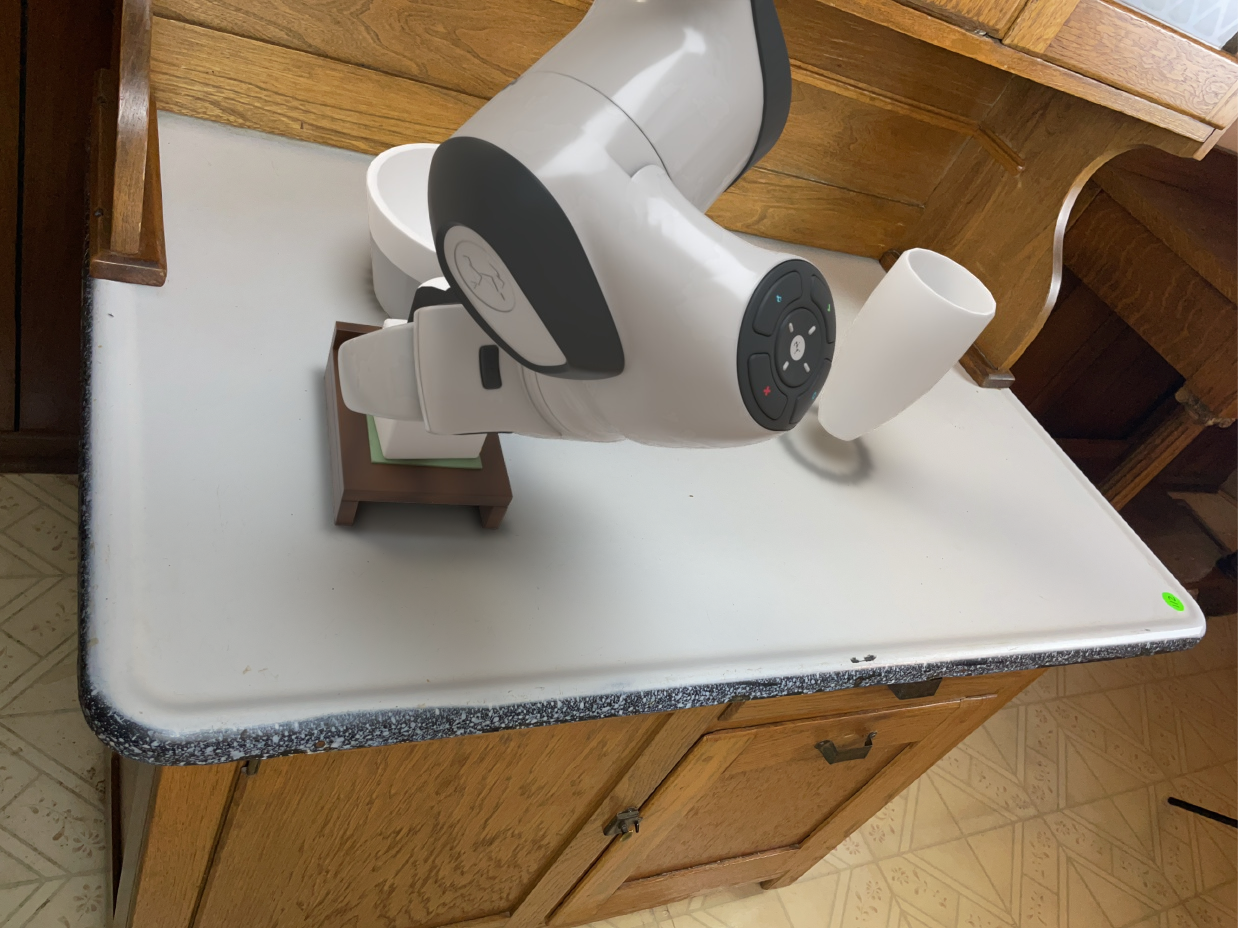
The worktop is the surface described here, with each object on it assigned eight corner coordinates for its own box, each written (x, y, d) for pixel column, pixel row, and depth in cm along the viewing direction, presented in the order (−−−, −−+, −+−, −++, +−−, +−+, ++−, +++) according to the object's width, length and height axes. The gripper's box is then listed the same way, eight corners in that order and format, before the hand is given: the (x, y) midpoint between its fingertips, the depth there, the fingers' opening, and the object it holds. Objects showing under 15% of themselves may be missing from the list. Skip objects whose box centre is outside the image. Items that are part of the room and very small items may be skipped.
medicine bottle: (479, 460, 63) (528, 338, 56) (382, 461, 60) (421, 331, 52) (456, 392, 67) (499, 270, 60) (365, 389, 64) (398, 258, 56)
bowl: (330, 338, 72) (352, 232, 65) (357, 217, 85) (378, 118, 78) (547, 390, 79) (588, 298, 72) (541, 270, 92) (575, 182, 85)
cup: (794, 473, 85) (927, 303, 70) (767, 400, 91) (883, 232, 77) (878, 487, 88) (1021, 330, 74) (846, 417, 95) (971, 260, 81)
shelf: (334, 525, 60) (348, 469, 56) (323, 377, 69) (335, 320, 65) (498, 529, 65) (521, 479, 61) (468, 392, 74) (487, 340, 70)
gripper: (708, 297, 53) (579, 314, 63) (393, 307, 40) (301, 326, 51) (714, 399, 53) (586, 398, 64) (407, 439, 41) (313, 430, 52)
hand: (457, 366), depth 58 cm, fingers open, 8 cm apart
